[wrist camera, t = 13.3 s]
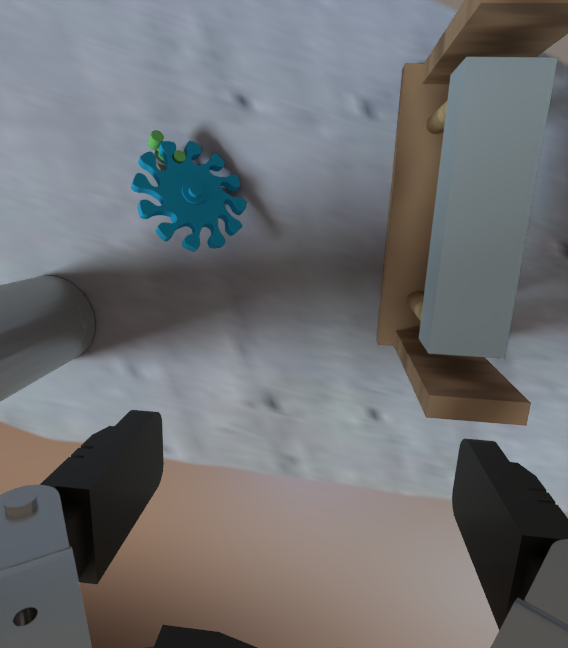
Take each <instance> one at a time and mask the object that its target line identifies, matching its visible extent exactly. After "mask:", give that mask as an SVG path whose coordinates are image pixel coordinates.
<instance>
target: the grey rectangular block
mask: <svg viewBox="0 0 568 648" xmlns="http://www.w3.org/2000/svg"><path fill="white" fill-rule="evenodd" d="M557 59H558V58H546V57H466V58H465V59H464V60H463V61H462V63H461V64H460V65H459V66H458V67H457V68H456V69H455V70H454V72H453V73H452V74H451V76H450V84H449V92H448V100H447V109H446V117H445V125H444V133H443V142H442V150H441V158H440V166H439V175H438V183H437V191H436V200H435V208H434V216H433V224H432V233H431V241H430V249H429V257H428V266H427V274H426V282H425V290H424V299H423V307H422V315H421V323H420V332H419V340H420V341H421V343H422V344H423V346H424V347H425V349H426V350H427V352H428V353H429V354H444V355H458V356H473V357H488V358H503V359H505V356H506V350H507V345H508V339H509V333H510V327H511V322H512V316H513V310H514V305H515V299H516V293H517V288H518V282H519V276H520V270H521V265H522V259H523V253H524V248H525V242H526V236H527V230H528V225H529V219H530V213H531V208H532V202H533V196H534V191H535V185H536V179H537V173H538V168H539V162H540V156H541V151H542V145H543V139H544V133H545V128H546V122H547V116H548V111H549V105H550V99H551V93H552V88H553V82H554V76H555V71H556V65H557Z"/></svg>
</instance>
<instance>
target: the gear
mask: <svg viewBox="0 0 568 648" xmlns="http://www.w3.org/2000/svg"><path fill="white" fill-rule="evenodd" d="M163 139H164V136H163V134H162V133H161V132H160V131H157V130H154V131H153V132H152V133H151V136H150V138H149V141H148V146H149V147H150V148H151V149H153V150H155V153H154V154H153V153H152V152H147V153H145V154H143V155H142V156H141V157H140V159H139V161H138V163H139V165H140V167H141V168H143V169H144V170H146V171H148V172H149V173H150V174H151V175H152V176H153V177H154V178H155V180H156V182H157V184H158V187H154V186H152V185H151V184H150V183H149V181H148V179H147V178H146V176H145V175H143V174H141V173H137V174H136V176H135V178H134V180H133V182H132V186H131V189H132V190H133V191H135V192H138V193H146V194H149V195H151V196H153V197H154V198H156V199H157V200H158V201H159V202H160V203H161V206H156V205H154V204H153V203H152V202H150V201H148V200H141V201H140V203H139V205H138V212H139V215H140V218H142V219H148V218H150V217H152V216H155V215H164V216H169V217H171V221H172V222H173V224H171V223H165V222H164V223H161V224H160V225H159V226H158V227H157V229H156V232H157V234H158V236H159V237H160V238H161V239H162V240H163V241H168V240H169V239H170V238H171V237H172V235H173V234H174V231H175V230H177V229H179V228H181V227H184V226H187V227H190V228H191V229H192V232H193V234H190V235H188V236H186V238H185V239H184V240H183V242H182V246H183V247H184V248H186V249H187V250H190V251H193V252H195V251H196V250H197V249H198V247H199V246H200V239H199V234H200V230H201V229H202V227H208V228H209V229H210V230H211V236H210V237H209V239H208V246H209V247H210V248H220V247H222V246H223V245H224V244H225V238H224V237H223V235H222V234H221V232H220V230H219V228H218V218H221V219H222V220H223V221H224V222H225V230H226V233H227V234H228V235H229V236H232V235H234V234H235V233H236V232H237V231H238V230H239V229H240V228H241V227H242V224H241V223H240V222H239V221H238V220H236V219H235V218H233V217H232V216H231V215H230V214H229V213H228V211H227V210H226V208H225V206H224V203H226V204H228V205H229V206H230V207H231V209H232V211H233V212H234V213H235V214H236V215H240V214H241V213H242V212H243V211H244V210H245V208H246V203H247V202H246V201H245V200H244V199H242V198H235V197H232V196H230V195H229V194H227V193H226V192H225V191H223V190H222V188H221V186H224V187H226V188H227V189H228V190H229V191H232V192H235V191H237V190H238V188H239V187H240V181H239V178H238V175H235V174H232V175H230V176H228V177H217V176H214V175H212V174H211V173H210V171H209V170H213V171H220V170H221V169H222V167H223V166H224V164H225V163H224V161H223V159H222V158H221V157H220V156H219V155H218V154H217V153H215V154H213V155H212V157H211V158H210V160H209V162H207V163H206V164H203V165H195V164H194V163H193V162H192V159H196V158H197V157H198V156H199V154H200V152H201V147H200V146H199V145H198V144H196V143H194V142H192V141H189V142H188V143H187V145H186V147H185V149H184V152H185V154H184V153H183V152H182V151H180V150H177V151H176V145H175V143H174V142H169V141H163Z"/></svg>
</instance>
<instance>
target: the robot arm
mask: <svg viewBox="0 0 568 648" xmlns="http://www.w3.org/2000/svg"><path fill="white" fill-rule="evenodd" d="M94 332H95V318H94V313H93V310H92V308H91V305H90V303H89V302H88V300H87V298H86V297H85V295H84V294H83V293H82V292H81V291H80V290H79V289H78V288H77V287H76V286H74V285H73V284H72V283H70V282H68V281H66V280H64V279H62V278H58V277H55V276H40V277H35V278H30V279H26V280H22V281H17V282H13V283H8V284H4V285H0V401H2V400H4V399H5V398H7V397H9V396H11V395H12V394H14V393H16V392H17V391H19V390H21V389H23V388H24V387H26V386H28V385H29V384H31V383H33V382H35V381H36V380H38V379H40V378H41V377H43V376H45V375H47V374H48V373H50V372H52V371H54V370H55V369H57V368H59V367H61V366H62V365H64V364H66V363H67V362H69V361H71V360H72V359H74V358H76V357H78V356H79V355H80V354H82V353H83V352H84V351H85V350H86V349H87V348H88V347H89V345H90V343H91V341H92V340H93V336H94ZM162 473H163V436H162V418H161V415H160V413H159V412H150V411H138V410H131V411H130V412H128V413H127V414H126V415H125V416H124V417H123V418H122V419H121V420H120V421H119V422H118V423H117V424H116V425H115V426H109V427H107V428H105V429H103V430H101V431H99V432H97V433H95V434H93V435H92V436H91V437H90V438H89V439H87V440H86V441H85V442H84V443H83V444H82V445H81V448H78V449H77V450H76V451H75V452H74V453H73V454H72V455H71V457H69V458H67V459H66V461H64V462H63V463H62V464H61V465H60V466H59V467H58V468H57V469H56V470H55V471H54V472H53V473H52V474H51V475H49V477H47V478H46V479H45V480H44V481H43V482H42V483H41V484H40V485H28V486H23V487H19V488H15V489H12V490H10V491H7V492H5V493H3V494H1V495H0V648H92V646H91V641H90V636H89V631H88V626H87V621H86V616H85V611H84V606H83V601H82V596H81V590H80V585H79V582H83V583H91V584H98V582H99V581H100V579H101V578H102V576H103V574H104V573H105V571H106V570H107V568H108V566H109V565H110V563H111V562H112V560H113V558H114V557H115V555H116V554H117V552H118V550H119V549H120V547H121V545H122V544H123V542H124V541H125V539H126V538H127V536H128V534H129V533H130V531H131V529H132V528H133V526H134V525H135V523H136V521H137V520H138V518H139V516H140V515H141V513H142V512H143V510H144V509H145V507H146V505H147V504H148V502H149V500H150V499H151V497H152V496H153V494H154V493H155V491H156V489H157V488H158V486H159V484H160V481H161V477H162ZM452 503H453V512H454V516H455V519H456V522H457V524H458V527H459V529H460V532H461V534H462V537H463V539H464V542H465V545H466V547H467V550H468V552H469V555H470V557H471V560H472V562H473V565H474V567H475V570H476V572H477V575H478V578H479V580H480V583H481V585H482V588H483V590H484V593H485V595H486V598H487V600H488V603H489V605H490V608H491V610H492V613H493V615H494V618H495V621H496V623H497V625H498V628H499V633H498V635H497V636H496V638H495V640H494V642H493V644H492V646H491V648H568V518H567V517H566V516H565V514H564V513H563V511H562V510H561V509H560V508H559V506H558V505H555V501H554V500H553V498H552V497H551V496H550V494H549V493H546V489H545V488H544V486H543V485H542V484H541V482H540V481H539V480H538V478H537V477H536V476H535V475H534V474H532V473H531V472H530V471H528V470H527V469H525V468H524V467H523V466H521V465H520V464H518V463H514V462H509V460H508V459H507V457H506V456H505V455H504V453H503V452H502V450H501V449H500V447H499V446H498V445H497V443H496V442H494V441H485V440H474V439H463V440H462V441H461V444H460V448H459V454H458V461H457V467H456V473H455V480H454V486H453V494H452ZM146 648H257V647H254V646H252V645H249V644H247V643H244V642H242V641H239V640H237V639H235V638H232V637H230V636H227V635H225V634H222V633H220V632H214V631H206V630H199V629H191V628H183V627H175V626H168V625H163V626H162V628H161V631H160V633H159V635H158V638H157V640H156V643H155V645H154V646H153V647H146Z"/></svg>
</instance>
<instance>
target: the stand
mask: <svg viewBox="0 0 568 648" xmlns="http://www.w3.org/2000/svg"><path fill="white" fill-rule="evenodd" d="M566 34H568V0H465V1H464V2H463V4H462V5H461V7H460V8H459V10H458V11H457V13H456V15H455V16H454V18H453V19H452V21H451V22H450V24H449V26H448V27H447V29H446V30H445V32H444V33H443V35H442V37H441V38H440V40H439V41H438V43H437V44H436V46H435V47H434V49H433V51H432V52H431V54H430V55H429V57H428V58H427V60H426V62H425V63H424V64H420V63H405V65H404V67H403V70H402V80H401V91H400V101H399V112H398V122H397V132H396V143H395V153H394V164H393V174H392V184H391V195H390V205H389V216H388V226H387V237H386V247H385V257H384V268H383V278H382V289H381V299H380V309H379V320H378V330H377V343H378V345H391V346H394V347H395V349H396V351H397V353H398V356H399V358H400V360H401V362H402V365H403V367H404V369H405V371H406V373H407V376H408V378H409V380H410V382H411V385H412V387H413V389H414V391H415V394H416V396H417V398H418V400H419V402H420V405H421V407H422V409H423V411H424V414H425V416H426V417H428V418H440V419H452V420H465V421H477V422H489V423H502V424H514V425H527V420H528V415H529V410H530V404H531V403H530V402H529V401H528V400H527V399H526V398H525V397H524V396H523V395H522V394H521V393H520V392H519V391H518V390H517V389H516V388H515V387H514V386H513V385H512V384H511V383H510V382H509V381H508V380H507V379H506V378H505V377H504V376H503V375H502V374H501V373H500V372H499V371H498V370H497V369H496V368H495V367H494V366H493V365H492V364H491V363H490V362H489V361H488V360H487V359H486V358H485V357H473V356H458V355H444V354H429V353H428V352H427V350H426V349H425V347H424V346H423V344H422V343H421V341H420V340H419V332H420V323H421V315H422V307H423V299H424V290H425V282H426V274H427V266H428V257H429V249H430V241H431V233H432V224H433V216H434V208H435V200H436V191H437V183H438V175H439V166H440V158H441V150H442V142H443V133H444V125H445V117H446V109H447V100H448V92H449V84H450V76H451V74H452V73H453V72H454V70H455V69H456V68H457V67H458V66H459V65H460V64H461V63H462V61H463V60H464V59H465V58H466V57H537V56H538V55H539V54H541V53H542V52H543V51H545V50H546V49H547V48H549V47H550V46H551V45H553V44H554V43H556V42H557V41H558V40H560V39H561V38H562V37H564V36H565V35H566Z"/></svg>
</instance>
